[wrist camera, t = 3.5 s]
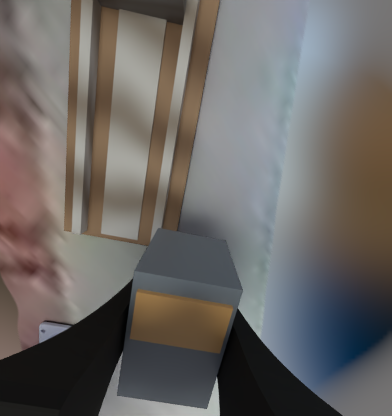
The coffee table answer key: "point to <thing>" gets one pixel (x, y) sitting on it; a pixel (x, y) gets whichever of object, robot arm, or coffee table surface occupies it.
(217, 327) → the block
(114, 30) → the din rail board
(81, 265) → the coffee table surface
